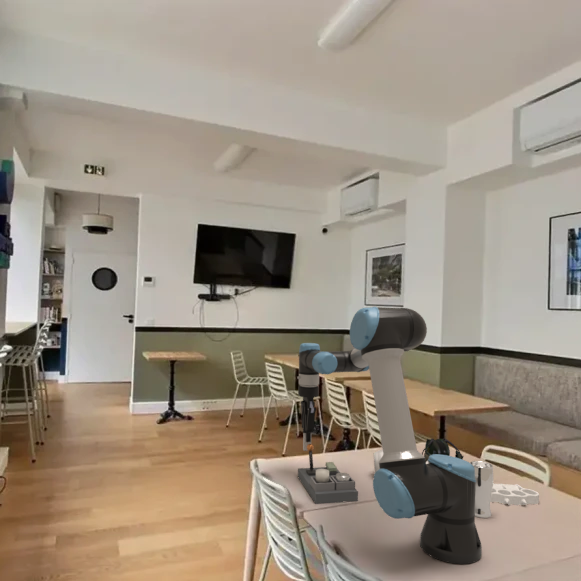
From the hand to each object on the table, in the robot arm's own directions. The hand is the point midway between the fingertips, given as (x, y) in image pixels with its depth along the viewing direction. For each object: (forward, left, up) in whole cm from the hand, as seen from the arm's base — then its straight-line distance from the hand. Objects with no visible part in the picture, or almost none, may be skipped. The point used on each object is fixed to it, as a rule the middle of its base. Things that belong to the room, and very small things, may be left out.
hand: (307, 450), depth 177 cm
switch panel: (-13, -3, -9) cm, 16 cm away
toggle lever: (-7, 0, -5) cm, 9 cm away
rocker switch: (-7, -7, -5) cm, 11 cm away
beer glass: (-40, -44, -9) cm, 61 cm away
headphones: (+3, -56, -10) cm, 57 cm away
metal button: (-20, -7, -5) cm, 22 cm away
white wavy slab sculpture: (-17, -31, -10) cm, 37 cm away
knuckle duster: (-31, -61, -10) cm, 69 cm away
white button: (-20, 0, -4) cm, 21 cm away
